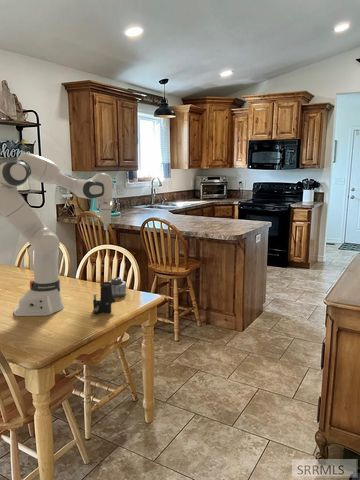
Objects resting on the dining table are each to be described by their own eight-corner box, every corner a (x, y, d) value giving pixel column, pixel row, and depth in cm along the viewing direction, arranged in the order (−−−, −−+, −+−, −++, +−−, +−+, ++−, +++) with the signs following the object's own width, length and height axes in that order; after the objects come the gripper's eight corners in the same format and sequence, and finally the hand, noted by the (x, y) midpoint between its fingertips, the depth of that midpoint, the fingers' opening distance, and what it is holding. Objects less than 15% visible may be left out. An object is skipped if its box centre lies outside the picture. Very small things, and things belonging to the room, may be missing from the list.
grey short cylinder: (107, 298, 201) (107, 286, 200) (106, 292, 210) (105, 280, 209) (127, 296, 203) (126, 285, 202) (124, 290, 213) (124, 279, 212)
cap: (111, 290, 203) (111, 280, 202) (110, 287, 208) (110, 277, 207) (122, 289, 204) (121, 279, 203) (120, 286, 209) (120, 276, 208)
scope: (92, 282, 183) (113, 280, 186) (93, 309, 185) (114, 307, 188) (93, 287, 175) (115, 285, 178) (94, 316, 178) (116, 313, 181)
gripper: (97, 202, 213) (98, 227, 216) (99, 206, 194) (101, 233, 196) (109, 202, 215) (109, 226, 217) (112, 205, 195) (113, 232, 198)
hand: (105, 229), depth 207 cm, fingers closed
